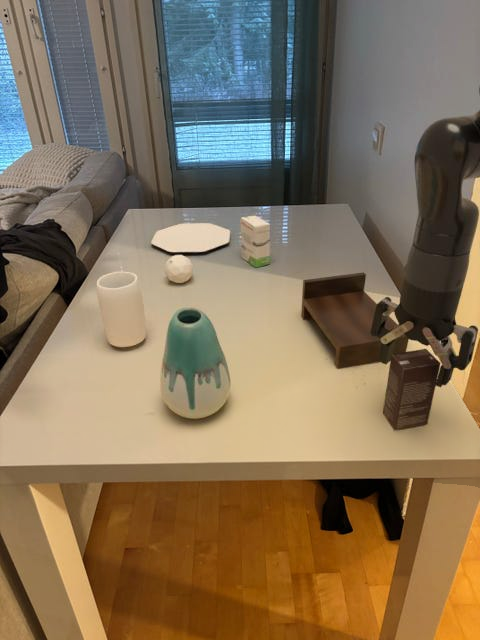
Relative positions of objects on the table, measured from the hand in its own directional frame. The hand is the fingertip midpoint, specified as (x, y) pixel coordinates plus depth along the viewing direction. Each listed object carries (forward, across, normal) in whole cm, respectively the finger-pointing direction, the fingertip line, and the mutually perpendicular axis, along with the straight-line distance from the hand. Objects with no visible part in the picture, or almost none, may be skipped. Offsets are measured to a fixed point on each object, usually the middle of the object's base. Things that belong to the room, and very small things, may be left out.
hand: (412, 372), depth 71 cm
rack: (+10, +19, -16) cm, 27 cm away
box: (+10, 0, 0) cm, 10 cm away
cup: (+10, +53, +15) cm, 56 cm away
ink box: (+10, +58, -33) cm, 68 cm away
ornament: (+10, +66, -11) cm, 67 cm away
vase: (+10, +28, +19) cm, 35 cm away
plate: (+10, +84, -32) cm, 90 cm away
